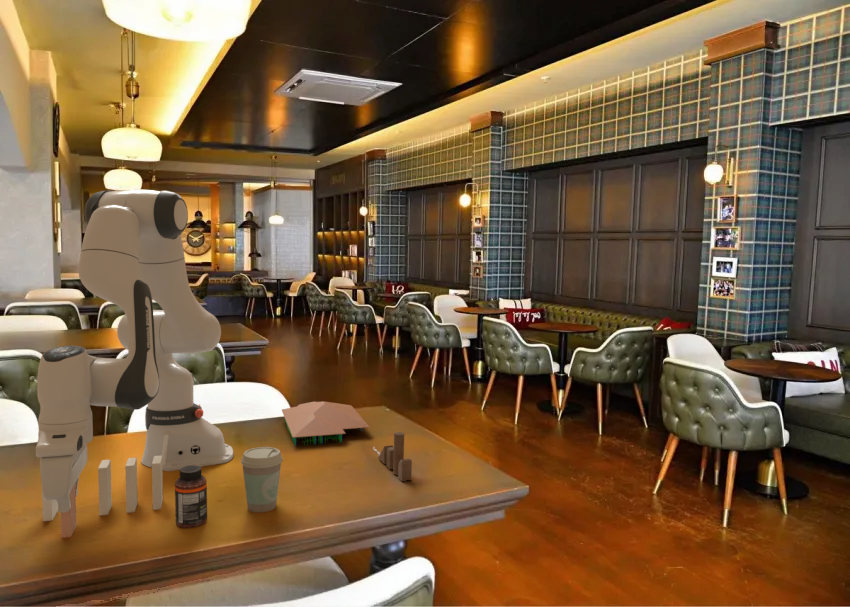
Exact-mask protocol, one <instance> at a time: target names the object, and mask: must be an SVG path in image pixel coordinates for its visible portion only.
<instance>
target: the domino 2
mask: <svg viewBox="0 0 850 607" xmlns="http://www.w3.org/2000/svg"><path fill="white" fill-rule="evenodd" d="M97 470H98V472H97V473H98V476H97V479H98V482H97V483H98V512H99V514H98V516H107V515H109V514H110V510H111V508H112V506H113V504H112V500H113V499H112V462H111V459H102V460H101V462H100V464H99V466H98V468H97Z"/></svg>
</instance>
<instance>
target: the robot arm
mask: <svg viewBox="0 0 850 607" xmlns="http://www.w3.org/2000/svg"><path fill="white" fill-rule="evenodd" d="M187 206H188V205H187V204H186V201H185V200H184V199H183V198H182V196H181V195H180V194H179V193H176V192H174V191H173V192H172V191H169V190H161V191H158V190H152V189H142V188H141V189H140V188H139V189H138V188H136V189H126V190H125V189H123V190H121V189H120V190H101V191H97V192H95V193H93V194H91V195H90V197H89V198H88V199H87V201H86V202H85V204H84V211H83V212H84V220H85V223H86V224H87V225H86V229H85V233H84V236H83V241H82V244H81V250H80V255H79V261H78V278H79V280H80V282H81V283H82V285H83V286H84V287H85V289H86V290H87V291H89V292H90V293H91V294H93V296H96V297H98V298H100V299H102V300H104V301H107V302H109V303H111V304H114V305H116V306H118V307H119V308H120V309H121V310H122V311H123V313H124V315H122V317H121V319H120V320H119V322H118V324H117V330H116V331H117V333H116V334H117V339H118V341H119V343H120V344H121V346H122V347H123V348H125V350H127V351H128V354H127V356H126V357H125V358H116V357H115V358H114V357H113V358H112V357H111V358H110V357H98V356H97V357H96V356H93V355H90V354H88V352H87V350H86V348H85V347H83V346H80V345H64V346H58V347H53V348H50V349H49V350H47V351H45V352H44V353H43V354H41V356H40V360H39V363H38V371H37V382H36V384H37V388H36V389H37V394H36V395H37V401H38V403H39V408H40V411H39V416H38V420H37V422H38V423H37V424H38V433H37V435H38V439H37V442H36V446H35V456H36V457H37V458H40V460H39V471H40V481H41V492H42V491H43V495H44V497H45V499H46V500H57V503H58V511H57V512H58V513H60V514H61V513H63V512H68V511H69V509H70V507H71V505H70V504H71V500H70V498H69V494H70V491H71V489H72V488H73V486H74V484H75V492H76V497H77V496H78V492H79V490H78V488H79V487H78V486H79V480H80V475H81V474H82V472H83V470H84V468H85V466H86V465H87V463H88V444H89V443H91V442H92V441H93V439H94V430H93V429H94V428H93V411H92V409H91V406H96V407H116V408H120V409H130V410H141V409H143V407H146V408H145V411H144V412H145V414H144V415H145V416H144V420H145V422H144V423H145V430H146V438H145V446H144V450H143V454H142V457H141V461H140V462H141V464H142V465H143V466H146V467H148V468H152V462H153V458H154V456H161V455H162V471H165V472H173V471H180V469H181V468H182V467H185V466H190V465H197V466H200V467H201V468H202V467H206V466H214V465H220V464H226V463H228V462H230V461H231V460H232V459H233V458H234V449H233V447H232V446H231V445H229V444H227V443H225V438H224V434H223V432H222V431H221V429H220V428H219V427H217V426H216V425H214V424H213V423H211V422H209V421H208V420H206V419H205V418H203V416H204V410H203V408H202V406H201V404H196V403H194V378H193V375H192V373H191V372H190V370H188V369H187V368H186V367H183V366H182V365H180V364H179V363H178V362H177V361H176V360H175V358H174V355H173V354H187V355H188V354H189V355H190V354H191V355H194V354H202V353H206V352H211V351H213V350H214V349H215V348H216V346H218V344H219V342H220V341H221V336H222V327H221V324H220V322H219V320H218V319H217V317H216V316H215V315H214V314H212V313H211V312H209V311H207V310H206V309H205V308H204V307H203V306H202V305H201V304H200V302H199V301H198V299H197V298H196V297H195V295H194V293H193V292H192V289H191V286H190V282H189V279H188V272H187V267H186V259H185V258H186V257H185V252H184V245H183V241H182V240H183V239H182V237H181V235H182V234H183V232H184V231H185V230H186V228H187V226H188V222H189V221H188V219H189V211H188V207H187ZM153 301H154V302H155V303H157V304H158V305H159V306H160V308H161V309H154V305H153Z"/></svg>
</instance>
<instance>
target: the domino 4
mask: <svg viewBox="0 0 850 607" xmlns="http://www.w3.org/2000/svg"><path fill="white" fill-rule="evenodd" d="M151 471H152V472H151V475H152V480H151V481H152V482H151V484H152V485H151V486H152V488H151V489H152V510H153V511H154V510H162V506H163V502H164V501H163V500H164V496H163V495H164V492H163V491H164V490H163V488H164V487H163V486H164V485H163V483H164V482H163V470H162V455H161V456H154V458H153V462H152V467H151Z"/></svg>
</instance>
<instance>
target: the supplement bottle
mask: <svg viewBox="0 0 850 607" xmlns="http://www.w3.org/2000/svg"><path fill="white" fill-rule="evenodd" d="M207 490H208V483H207V478H206V477H205V476H204V475H202V466H201V467H200V466H197V465H190V466H185V467H182V468H181V469H180V470H179V478H177V480H176V481H175V484H174V500H175V501H174V502H175V503H174V504H175V524H176V526H177V527H178V528H182V529H193V528H197V527H200V526H203V525H205V523H207V520H208V491H207Z"/></svg>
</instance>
